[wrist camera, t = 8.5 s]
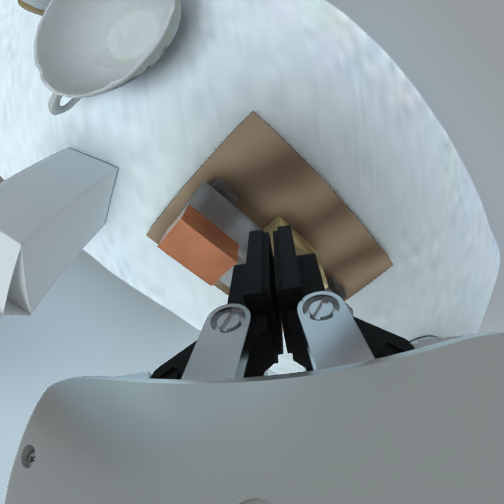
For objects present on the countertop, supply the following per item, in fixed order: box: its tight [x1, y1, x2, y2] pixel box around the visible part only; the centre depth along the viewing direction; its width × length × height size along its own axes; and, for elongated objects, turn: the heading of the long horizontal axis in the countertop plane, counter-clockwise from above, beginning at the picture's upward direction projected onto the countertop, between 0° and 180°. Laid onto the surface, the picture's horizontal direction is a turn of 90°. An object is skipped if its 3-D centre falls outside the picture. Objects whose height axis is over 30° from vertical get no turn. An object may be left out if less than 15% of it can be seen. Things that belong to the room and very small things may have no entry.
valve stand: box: [146, 111, 393, 332], centre depth 25 cm, size 22×16×8 cm
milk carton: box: [0, 148, 118, 319], centre depth 17 cm, size 7×7×19 cm
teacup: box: [34, 0, 182, 115], centre depth 14 cm, size 15×12×8 cm
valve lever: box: [158, 205, 283, 328], centre depth 19 cm, size 12×3×2 cm, turn 47°
